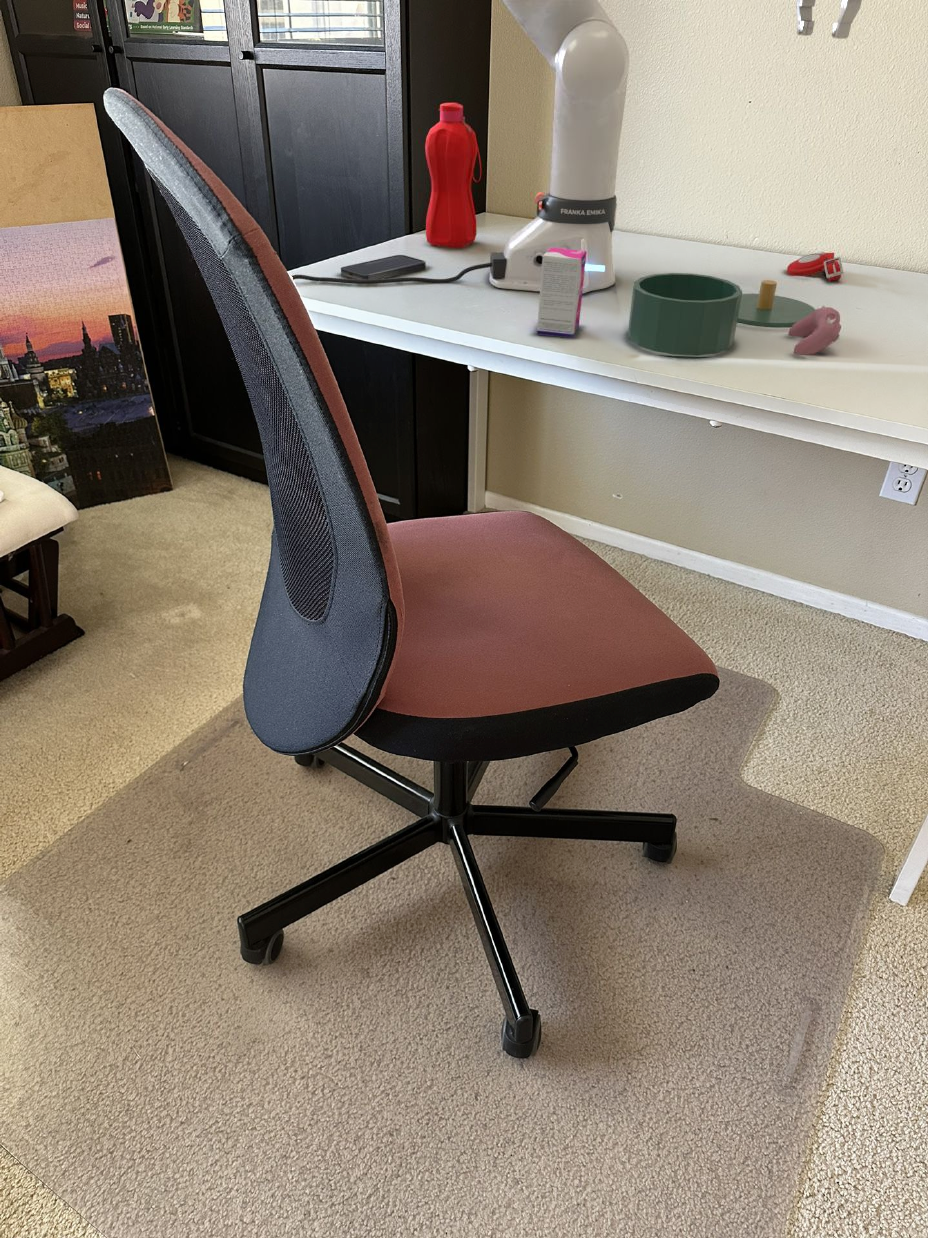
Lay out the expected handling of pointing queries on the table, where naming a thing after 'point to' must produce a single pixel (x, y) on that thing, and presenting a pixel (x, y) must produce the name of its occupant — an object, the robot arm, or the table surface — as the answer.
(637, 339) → the tin
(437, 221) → the water bottle
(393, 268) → the phone
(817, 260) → the tracker holder
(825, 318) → the video game controller
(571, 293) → the supplement box
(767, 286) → the tin lid
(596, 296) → the table surface
